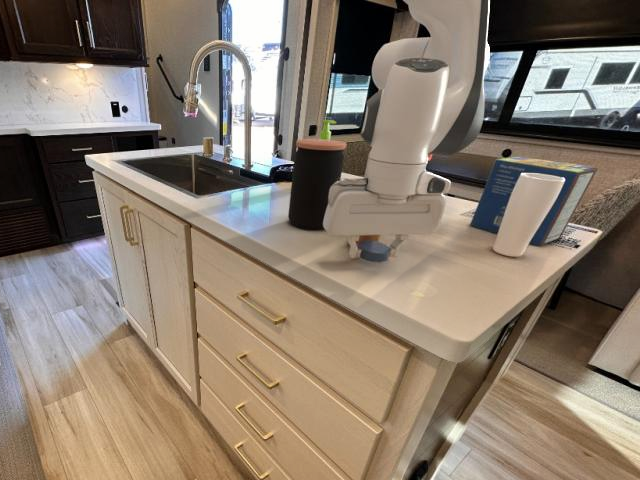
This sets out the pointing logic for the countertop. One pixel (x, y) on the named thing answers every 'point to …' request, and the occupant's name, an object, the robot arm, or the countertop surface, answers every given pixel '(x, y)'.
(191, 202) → the countertop surface
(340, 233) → the robot arm
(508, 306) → the countertop surface
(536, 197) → the drinking glass
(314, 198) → the coffee jar
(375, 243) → the jam lid
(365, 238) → the jam jar
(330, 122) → the soap dispenser
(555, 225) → the protein box
